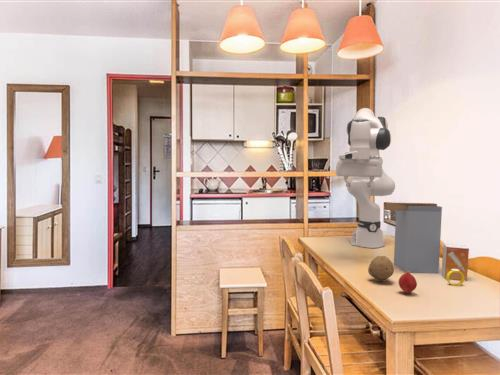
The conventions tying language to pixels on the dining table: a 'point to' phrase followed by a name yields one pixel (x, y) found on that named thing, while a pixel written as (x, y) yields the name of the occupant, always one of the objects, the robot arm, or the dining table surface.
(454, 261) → the small box
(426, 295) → the dining table surface
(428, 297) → the dining table surface
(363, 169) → the robot arm
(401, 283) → the red rounded lump
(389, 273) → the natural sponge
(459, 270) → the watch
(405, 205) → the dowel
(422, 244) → the stand
